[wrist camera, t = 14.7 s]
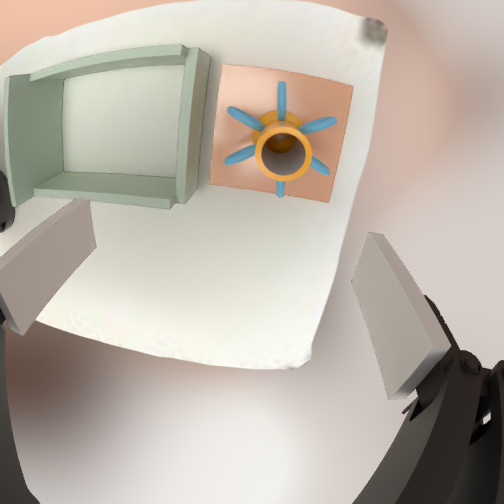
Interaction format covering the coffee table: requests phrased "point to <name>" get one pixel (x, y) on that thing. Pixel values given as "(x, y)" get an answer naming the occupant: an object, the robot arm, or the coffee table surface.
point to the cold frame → (50, 132)
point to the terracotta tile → (266, 99)
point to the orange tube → (280, 142)
